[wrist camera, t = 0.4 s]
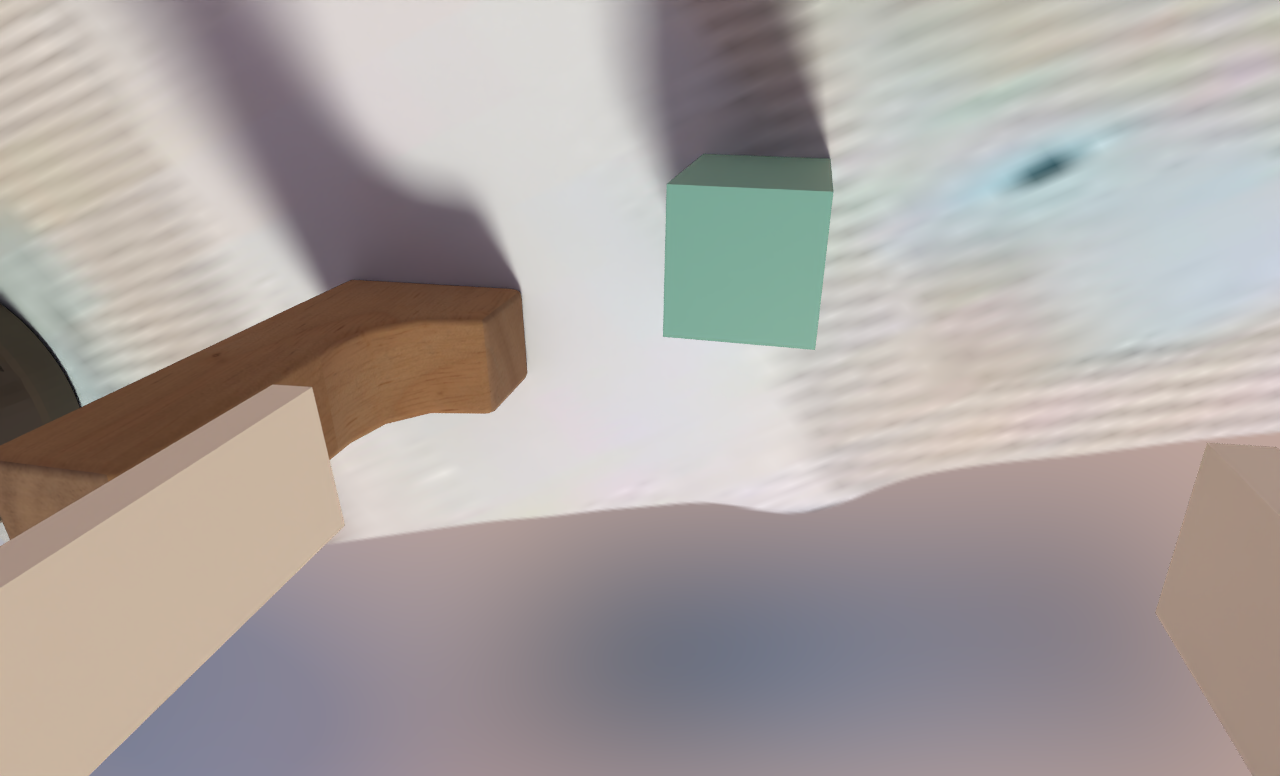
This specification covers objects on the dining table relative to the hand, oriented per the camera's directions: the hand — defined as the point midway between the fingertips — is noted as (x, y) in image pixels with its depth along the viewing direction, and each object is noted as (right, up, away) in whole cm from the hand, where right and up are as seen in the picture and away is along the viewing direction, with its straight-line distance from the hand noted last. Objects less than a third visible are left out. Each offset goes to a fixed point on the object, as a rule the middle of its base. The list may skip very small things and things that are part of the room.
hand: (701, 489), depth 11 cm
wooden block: (-11, +5, +25) cm, 27 cm away
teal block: (+4, +8, +19) cm, 21 cm away
